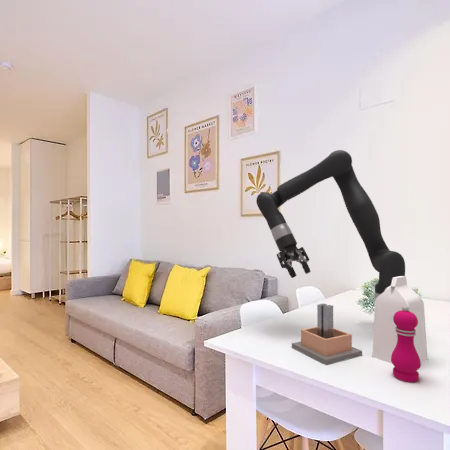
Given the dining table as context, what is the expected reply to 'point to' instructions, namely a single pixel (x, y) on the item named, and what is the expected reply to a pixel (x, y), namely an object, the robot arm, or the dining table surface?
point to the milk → (385, 325)
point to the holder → (326, 346)
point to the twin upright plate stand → (325, 321)
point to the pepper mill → (405, 347)
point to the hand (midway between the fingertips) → (301, 274)
